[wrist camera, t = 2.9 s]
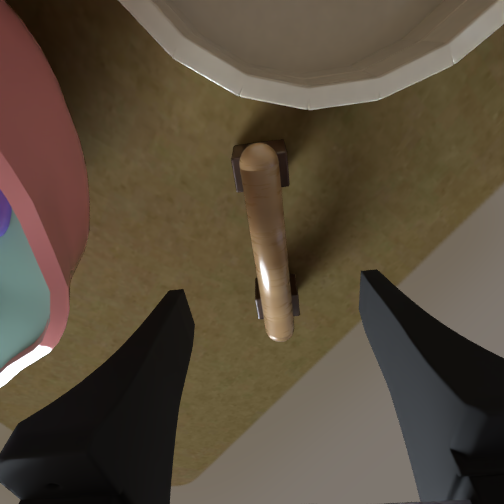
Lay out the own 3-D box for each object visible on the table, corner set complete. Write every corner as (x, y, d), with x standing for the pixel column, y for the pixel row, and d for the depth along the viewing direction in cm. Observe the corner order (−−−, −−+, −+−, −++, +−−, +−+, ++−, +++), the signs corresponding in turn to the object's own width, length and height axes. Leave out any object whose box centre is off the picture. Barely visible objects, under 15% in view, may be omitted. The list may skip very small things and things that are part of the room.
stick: (237, 141, 14) (235, 152, 13) (275, 135, 14) (278, 147, 12) (266, 327, 20) (267, 349, 19) (293, 325, 20) (296, 346, 18)
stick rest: (233, 145, 16) (230, 158, 14) (283, 138, 16) (286, 151, 14) (258, 297, 21) (258, 319, 20) (296, 293, 21) (300, 316, 19)
